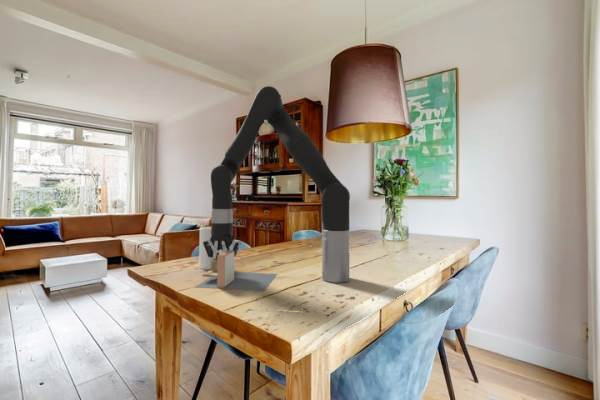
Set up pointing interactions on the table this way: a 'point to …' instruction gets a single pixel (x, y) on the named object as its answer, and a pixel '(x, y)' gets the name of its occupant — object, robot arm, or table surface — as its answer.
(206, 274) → the beige pillar on base
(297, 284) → the table surface
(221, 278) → the tile
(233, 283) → the mat
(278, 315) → the table surface
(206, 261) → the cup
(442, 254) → the table surface
